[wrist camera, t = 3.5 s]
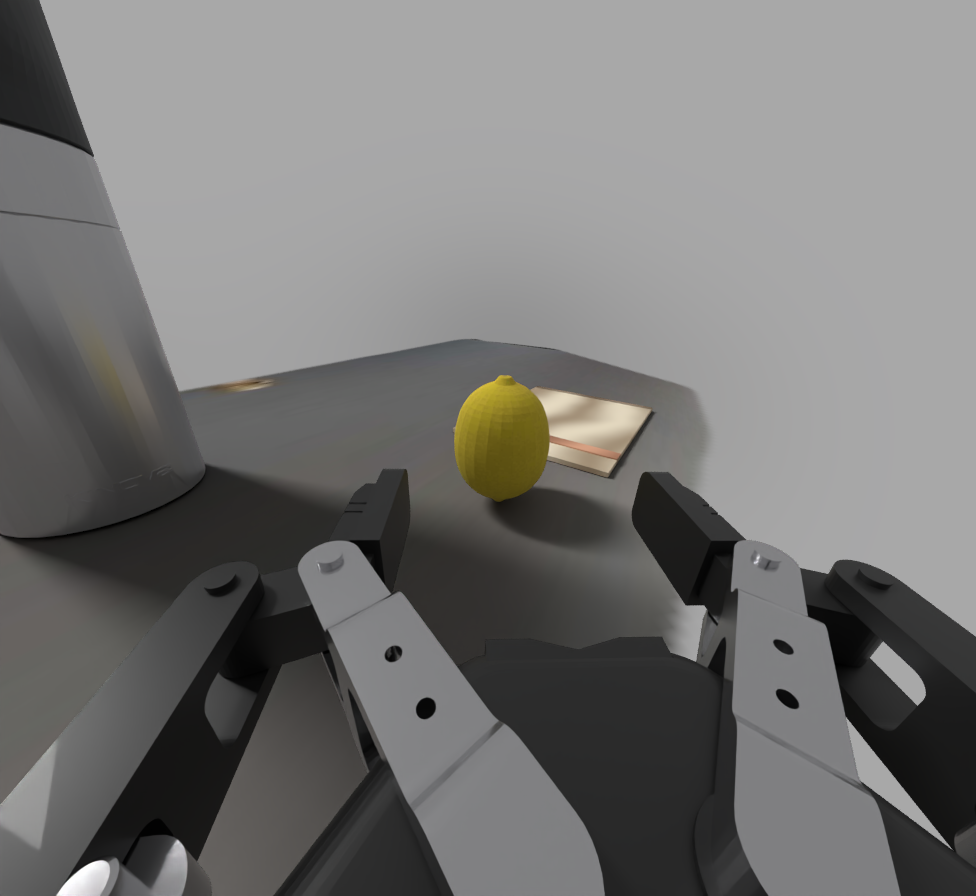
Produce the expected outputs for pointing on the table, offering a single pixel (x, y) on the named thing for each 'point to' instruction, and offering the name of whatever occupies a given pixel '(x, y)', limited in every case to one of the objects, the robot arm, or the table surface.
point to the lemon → (502, 439)
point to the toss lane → (589, 429)
